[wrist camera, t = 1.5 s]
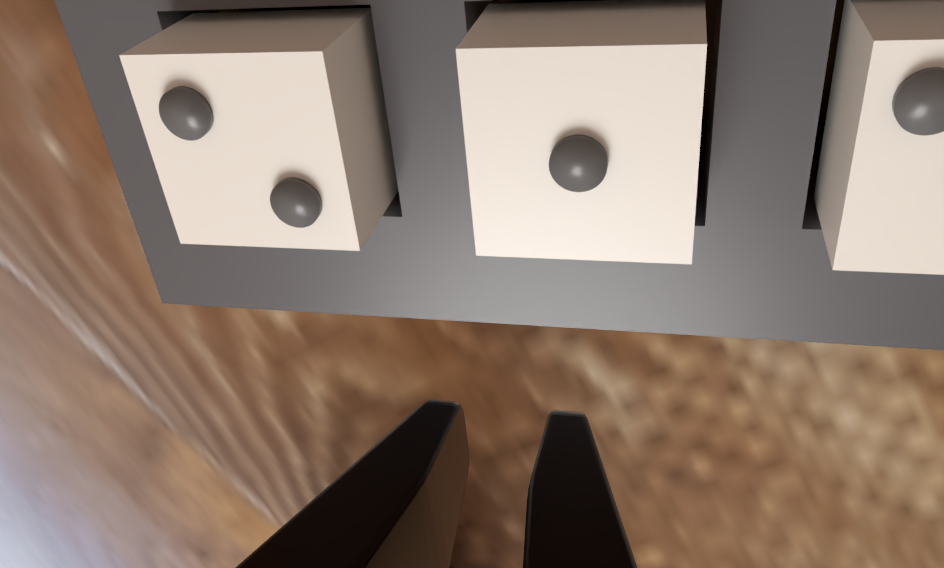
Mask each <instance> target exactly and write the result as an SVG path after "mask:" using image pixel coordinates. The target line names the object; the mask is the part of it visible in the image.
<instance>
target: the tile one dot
mask: <svg viewBox="0 0 944 568" xmlns="http://www.w3.org/2000/svg"><path fill="white" fill-rule="evenodd" d="M706 53H707V31H706V10H705V0H597V1H566V2H534V3H503V4H488V6H487V7H486V8H485V10H484V11H483V12H482V14H481V15H480V16H479V18H478V19H477V20H476V22H475V23H474V25H473V26H472V27H471V29H470V30H469V31H468V33H467V34H466V35H465V37H464V38H463V39H462V41H461V42H460V43H459V45H458V46H457V47H456V59H457V69H458V79H459V89H460V99H461V109H462V119H463V129H464V139H465V149H466V160H467V170H468V180H469V190H470V200H471V210H472V220H473V230H474V240H475V250H476V256H495V257H520V258H545V259H569V260H594V261H618V262H643V263H667V264H692V255H693V240H694V226H695V212H696V197H697V183H698V168H699V154H700V140H701V125H702V111H703V96H704V82H705V68H706Z"/></svg>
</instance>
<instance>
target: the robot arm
mask: <svg viewBox="0 0 944 568" xmlns="http://www.w3.org/2000/svg"><path fill="white" fill-rule="evenodd" d="M468 467H469V450H468V442H467V434H466V426H465V418H464V411H463V408H462V406H461V405H460V404H459V403H457V402H451V401H439V400H429V401H427V402H424V403H423V404H422V405H421V406H420V407H418V408H417V409H416V410H415V411H414V412H413V413H412V414H410V415H409V416H408V417H407V418H406V419H405V420H404V421H402V422H401V423H400V424H399V425H398V426H397V427H396V428H394V429H393V430H392V431H391V432H390V433H389V434H388V435H386V436H385V437H384V438H383V439H382V440H381V441H380V442H378V443H377V444H376V445H375V446H374V447H373V448H372V449H370V450H369V451H368V452H367V453H366V454H365V455H364V456H362V457H361V458H360V459H359V460H358V461H357V462H356V463H355V464H353V465H352V466H351V467H350V468H349V469H348V470H347V471H345V472H344V473H343V474H342V475H341V476H340V477H339V478H337V479H336V480H335V481H334V482H333V483H332V484H331V485H329V486H328V487H327V488H326V489H325V490H324V491H323V492H321V493H320V494H319V495H318V496H317V497H316V498H315V499H313V500H312V501H311V502H310V503H309V504H308V505H307V506H305V507H304V508H303V509H302V510H301V511H300V512H299V513H297V514H296V515H295V516H294V517H293V518H292V519H291V520H289V521H288V522H287V523H286V524H285V525H284V526H283V527H281V528H280V529H279V530H278V531H277V532H276V533H275V534H273V535H272V536H271V537H270V538H269V539H268V540H267V541H265V542H264V543H263V544H262V545H261V546H260V547H259V548H257V549H256V550H255V551H254V552H253V553H252V554H251V555H249V556H248V557H247V558H246V559H245V560H244V561H243V562H242V563H240V564H239V565H238V566H237V567H236V568H450V563H451V557H452V552H453V547H454V542H455V537H456V531H457V526H458V521H459V516H460V511H461V506H462V500H463V495H464V490H465V485H466V480H467V474H468ZM523 568H637V565H636V562H635V559H634V556H633V553H632V550H631V547H630V544H629V541H628V538H627V535H626V532H625V529H624V526H623V524H622V521H621V518H620V515H619V512H618V509H617V506H616V503H615V500H614V497H613V494H612V491H611V488H610V485H609V482H608V479H607V476H606V473H605V470H604V467H603V464H602V461H601V458H600V455H599V452H598V449H597V446H596V443H595V440H594V437H593V434H592V431H591V428H590V425H589V422H588V419H587V417H586V416H585V414H583V413H581V412H571V411H559V410H554V411H552V412H551V413H550V414H549V415H548V418H547V422H546V425H545V429H544V432H543V436H542V440H541V443H540V447H539V451H538V454H537V458H536V461H535V465H534V469H533V472H532V476H531V480H530V485H529V489H528V497H527V509H526V525H525V542H524V559H523Z"/></svg>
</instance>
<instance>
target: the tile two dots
mask: <svg viewBox="0 0 944 568" xmlns="http://www.w3.org/2000/svg"><path fill="white" fill-rule="evenodd" d="M119 57H120V60H121V63H122V66H123V69H124V72H125V75H126V78H127V81H128V84H129V87H130V91H131V94H132V97H133V100H134V103H135V106H136V109H137V112H138V115H139V118H140V121H141V124H142V127H143V130H144V133H145V136H146V140H147V143H148V146H149V149H150V152H151V155H152V158H153V161H154V164H155V167H156V170H157V173H158V176H159V179H160V182H161V185H162V188H163V192H164V195H165V198H166V201H167V204H168V207H169V210H170V213H171V216H172V219H173V222H174V225H175V228H176V231H177V234H178V237H179V241H180V244H201V245H226V246H250V247H275V248H299V249H324V250H348V251H360V250H361V249H362V247H363V246H364V244H365V242H366V241H367V239H368V238H369V236H370V235H371V233H372V231H373V230H374V228H375V227H376V225H377V224H378V222H379V220H380V219H381V217H382V216H383V214H384V213H385V211H386V209H387V208H388V206H389V205H390V203H391V202H392V200H393V198H394V197H395V195H396V194H397V192H398V191H399V190H398V184H397V177H396V171H395V164H394V158H393V151H392V144H391V138H390V131H389V125H388V118H387V111H386V105H385V98H384V92H383V85H382V79H381V72H380V65H379V59H378V52H377V46H376V39H375V33H374V26H373V19H372V13H371V8H346V9H315V10H284V11H252V12H221V13H192V14H191V15H189V16H187V17H185V18H184V19H182V20H180V21H178V22H177V23H175V24H173V25H171V26H170V27H168V28H166V29H164V30H163V31H161V32H159V33H157V34H155V35H154V36H152V37H150V38H148V39H147V40H145V41H143V42H141V43H140V44H138V45H136V46H134V47H133V48H131V49H129V50H127V51H126V52H124V53H122V54H120V55H119Z"/></svg>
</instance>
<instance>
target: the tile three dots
mask: <svg viewBox="0 0 944 568" xmlns="http://www.w3.org/2000/svg"><path fill="white" fill-rule="evenodd" d="M814 201H815V205H816V209H817V213H818V216H819V220H820V224H821V228H822V232H823V236H824V240H825V243H826V247H827V251H828V255H829V259H830V263H831V266H832V270H839V271H863V272H888V273H913V274H937V275H944V0H845V1H844V7H843V13H842V20H841V26H840V32H839V39H838V45H837V52H836V58H835V64H834V71H833V77H832V83H831V90H830V96H829V103H828V109H827V115H826V122H825V128H824V134H823V141H822V147H821V154H820V160H819V166H818V173H817V179H816V185H815V192H814Z"/></svg>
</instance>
